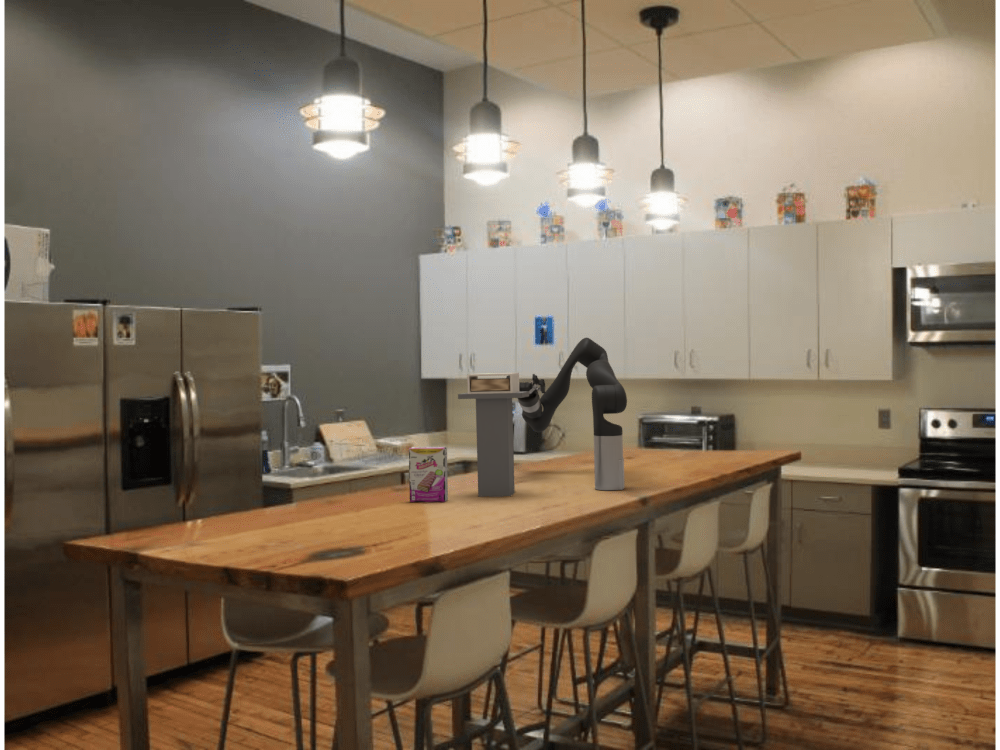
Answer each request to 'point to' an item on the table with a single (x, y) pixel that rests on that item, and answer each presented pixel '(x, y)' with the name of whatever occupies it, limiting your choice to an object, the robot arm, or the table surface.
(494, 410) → the charcoal pedestal
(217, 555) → the table surface
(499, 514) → the table surface
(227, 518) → the table surface
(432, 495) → the candy bar box
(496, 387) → the mailer tray
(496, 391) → the sleeve
